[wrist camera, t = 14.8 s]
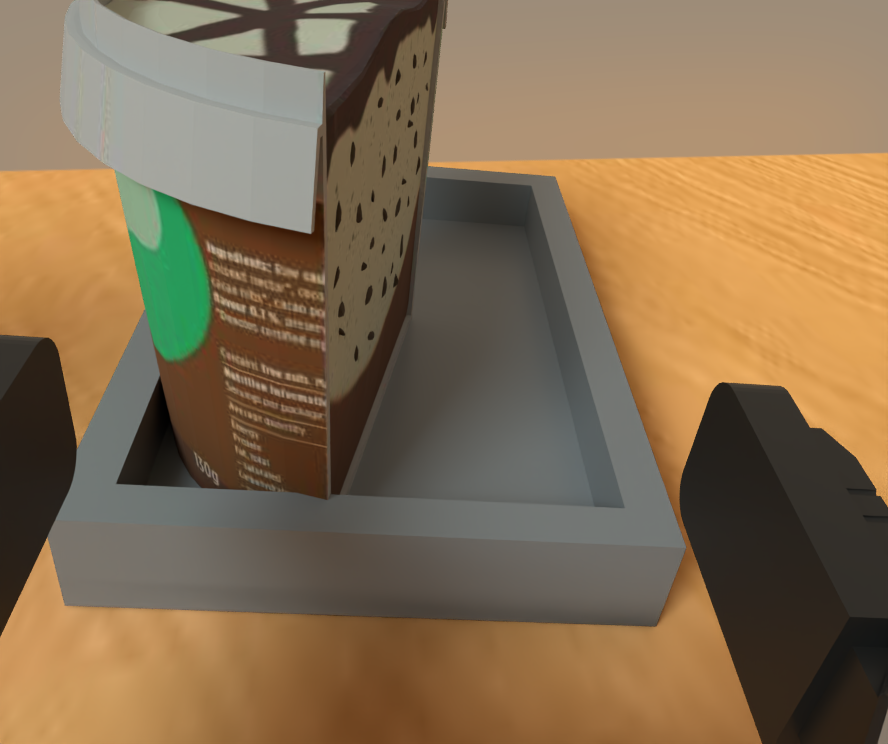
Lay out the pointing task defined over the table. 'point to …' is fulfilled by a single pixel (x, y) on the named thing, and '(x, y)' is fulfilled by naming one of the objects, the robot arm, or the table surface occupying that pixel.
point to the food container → (265, 212)
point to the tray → (412, 458)
